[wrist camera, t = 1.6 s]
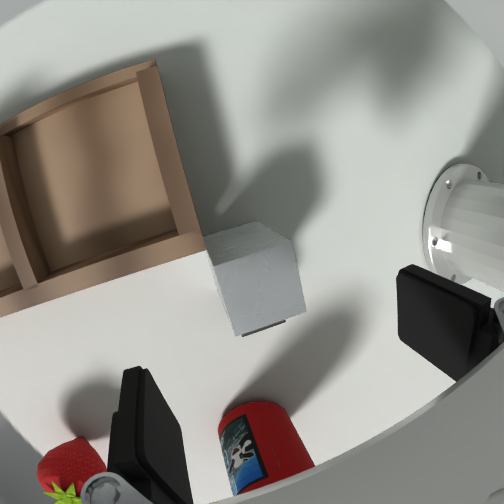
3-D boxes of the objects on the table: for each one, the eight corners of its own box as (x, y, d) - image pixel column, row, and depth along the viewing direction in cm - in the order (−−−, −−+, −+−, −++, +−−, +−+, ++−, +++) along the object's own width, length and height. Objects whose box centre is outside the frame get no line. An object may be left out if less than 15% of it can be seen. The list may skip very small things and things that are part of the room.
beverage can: (210, 403, 25) (238, 518, 14) (284, 387, 26) (341, 488, 15) (222, 448, 27) (249, 547, 15) (286, 434, 28) (332, 523, 17)
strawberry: (37, 424, 21) (12, 499, 12) (91, 410, 22) (73, 497, 13) (72, 460, 23) (60, 532, 14) (126, 449, 24) (123, 531, 15)
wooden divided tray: (157, 71, 18) (147, 9, 9) (201, 237, 21) (219, 280, 13) (-70, 186, 14) (-138, 199, 6) (-30, 316, 18) (-83, 368, 9)
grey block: (201, 237, 21) (213, 266, 15) (256, 220, 22) (292, 241, 15) (225, 315, 23) (246, 368, 17) (275, 298, 24) (312, 343, 17)
